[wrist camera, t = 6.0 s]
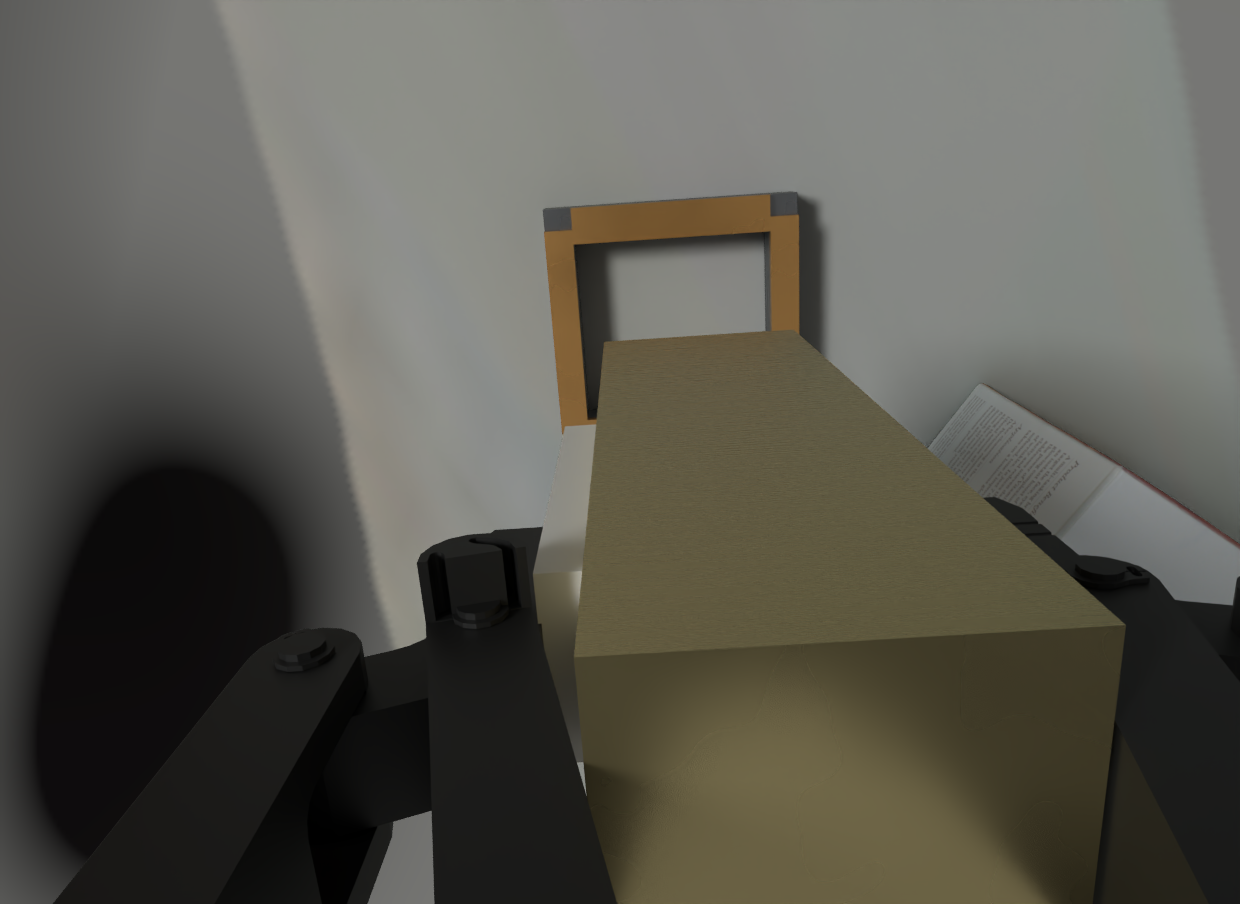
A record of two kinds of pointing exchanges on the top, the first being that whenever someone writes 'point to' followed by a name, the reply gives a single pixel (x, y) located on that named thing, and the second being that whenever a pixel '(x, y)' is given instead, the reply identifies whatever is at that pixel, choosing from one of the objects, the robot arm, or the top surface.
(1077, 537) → the small box
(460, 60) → the top surface
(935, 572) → the tan wooden beam
